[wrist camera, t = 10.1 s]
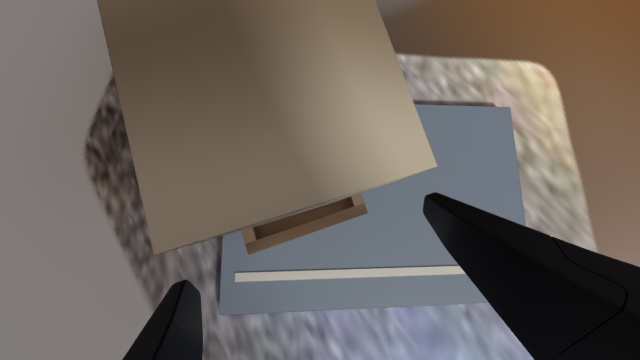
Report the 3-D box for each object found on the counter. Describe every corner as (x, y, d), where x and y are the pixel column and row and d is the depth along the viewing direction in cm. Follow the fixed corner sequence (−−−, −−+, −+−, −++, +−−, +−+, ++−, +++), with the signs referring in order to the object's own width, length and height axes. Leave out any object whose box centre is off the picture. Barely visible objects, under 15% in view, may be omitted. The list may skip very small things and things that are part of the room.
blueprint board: (523, 296, 19) (537, 301, 18) (223, 309, 17) (218, 316, 16) (500, 112, 22) (510, 106, 21) (232, 104, 20) (228, 98, 18)
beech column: (336, 201, 16) (437, 166, 4) (265, 223, 16) (154, 254, 4) (314, 134, 17) (351, -62, 5) (245, 153, 16) (93, -18, 4)
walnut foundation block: (357, 213, 18) (368, 213, 15) (256, 248, 17) (248, 255, 14) (324, 118, 19) (328, 102, 16) (226, 147, 18) (213, 134, 15)
